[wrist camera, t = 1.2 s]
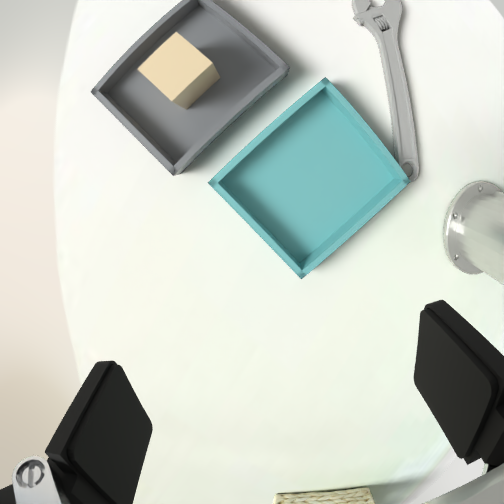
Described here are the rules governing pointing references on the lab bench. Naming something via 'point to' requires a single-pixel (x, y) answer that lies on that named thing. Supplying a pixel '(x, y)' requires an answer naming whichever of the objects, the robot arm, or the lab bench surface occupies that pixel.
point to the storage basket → (327, 497)
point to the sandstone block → (180, 71)
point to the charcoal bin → (209, 103)
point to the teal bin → (311, 178)
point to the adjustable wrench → (392, 75)
